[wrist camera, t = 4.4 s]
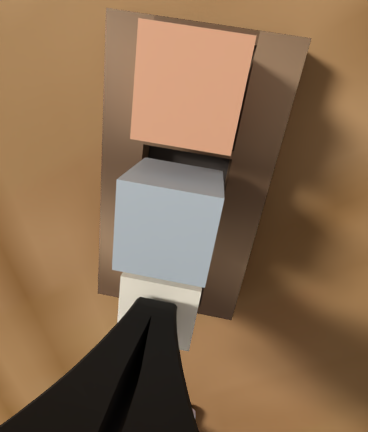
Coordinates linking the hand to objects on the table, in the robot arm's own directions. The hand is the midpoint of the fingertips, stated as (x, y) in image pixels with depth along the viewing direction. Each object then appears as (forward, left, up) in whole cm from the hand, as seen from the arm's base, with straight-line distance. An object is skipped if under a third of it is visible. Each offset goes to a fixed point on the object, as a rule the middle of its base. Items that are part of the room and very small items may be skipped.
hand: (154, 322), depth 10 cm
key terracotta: (+7, 0, -3) cm, 8 cm away
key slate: (+4, 0, -2) cm, 4 cm away
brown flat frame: (+4, 0, -4) cm, 6 cm away
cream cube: (0, 0, -3) cm, 3 cm away
